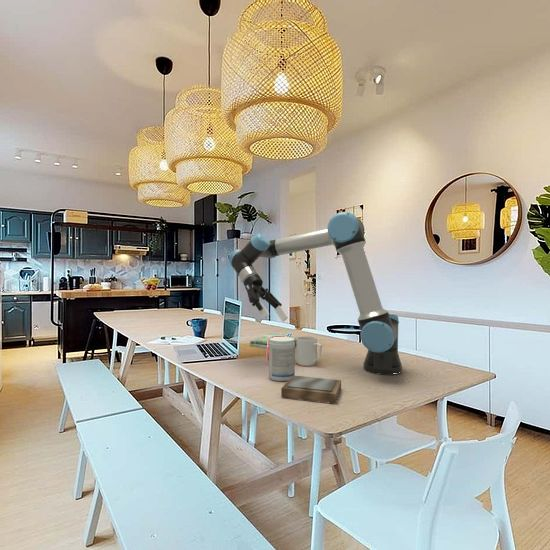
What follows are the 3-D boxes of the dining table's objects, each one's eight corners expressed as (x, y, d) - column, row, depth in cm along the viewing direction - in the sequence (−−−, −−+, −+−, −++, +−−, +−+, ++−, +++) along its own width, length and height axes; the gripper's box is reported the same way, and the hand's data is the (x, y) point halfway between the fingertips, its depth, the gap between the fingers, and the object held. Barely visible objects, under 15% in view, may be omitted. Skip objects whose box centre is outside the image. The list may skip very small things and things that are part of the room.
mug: (291, 363, 159) (292, 338, 159) (304, 360, 166) (305, 335, 165) (314, 369, 151) (314, 342, 151) (326, 365, 157) (327, 339, 157)
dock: (341, 388, 126) (341, 379, 126) (335, 403, 112) (335, 392, 112) (292, 383, 131) (292, 374, 131) (281, 397, 117) (281, 386, 117)
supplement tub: (299, 379, 136) (300, 339, 136) (278, 383, 131) (278, 342, 131) (284, 373, 144) (285, 335, 144) (263, 376, 139) (264, 337, 139)
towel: (283, 351, 184) (283, 341, 184) (249, 346, 196) (249, 336, 196) (301, 345, 200) (301, 336, 200) (268, 341, 211) (268, 332, 211)
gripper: (262, 290, 169) (285, 326, 158) (226, 280, 148) (251, 321, 138) (273, 278, 166) (298, 315, 156) (238, 267, 146) (264, 308, 135)
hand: (276, 318), depth 147 cm, fingers open, 13 cm apart
